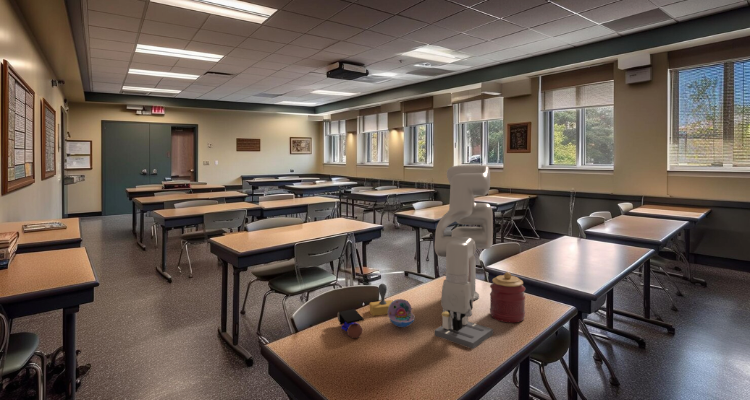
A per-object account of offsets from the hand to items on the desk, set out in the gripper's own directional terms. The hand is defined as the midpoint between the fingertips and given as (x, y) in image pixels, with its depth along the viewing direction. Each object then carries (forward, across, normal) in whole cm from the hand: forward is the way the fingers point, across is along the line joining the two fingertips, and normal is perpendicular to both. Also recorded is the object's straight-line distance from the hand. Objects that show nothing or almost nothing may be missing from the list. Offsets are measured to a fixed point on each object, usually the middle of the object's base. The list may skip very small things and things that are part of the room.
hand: (457, 329), depth 133 cm
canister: (+3, +6, +28) cm, 29 cm away
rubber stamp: (+3, -35, +1) cm, 35 cm away
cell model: (+3, -21, -4) cm, 22 cm away
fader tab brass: (+1, -4, 0) cm, 4 cm away
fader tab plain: (+1, -1, +7) cm, 7 cm away
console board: (+3, +1, +4) cm, 5 cm away
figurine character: (+4, -32, -20) cm, 38 cm away
